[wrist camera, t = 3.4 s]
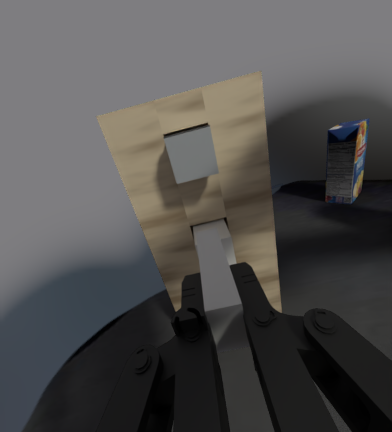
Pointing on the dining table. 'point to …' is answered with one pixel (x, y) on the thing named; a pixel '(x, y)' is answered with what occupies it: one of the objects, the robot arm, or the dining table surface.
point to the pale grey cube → (224, 237)
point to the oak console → (203, 187)
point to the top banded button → (192, 154)
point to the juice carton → (345, 161)
